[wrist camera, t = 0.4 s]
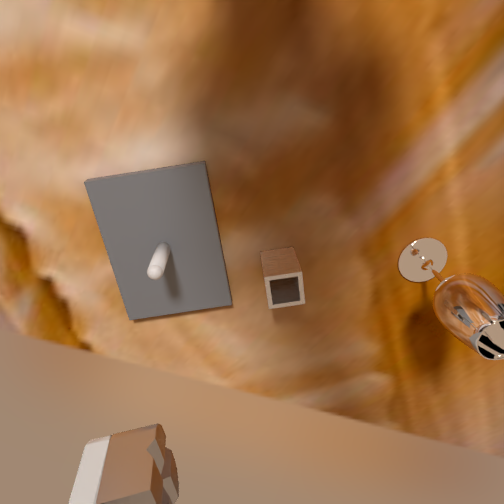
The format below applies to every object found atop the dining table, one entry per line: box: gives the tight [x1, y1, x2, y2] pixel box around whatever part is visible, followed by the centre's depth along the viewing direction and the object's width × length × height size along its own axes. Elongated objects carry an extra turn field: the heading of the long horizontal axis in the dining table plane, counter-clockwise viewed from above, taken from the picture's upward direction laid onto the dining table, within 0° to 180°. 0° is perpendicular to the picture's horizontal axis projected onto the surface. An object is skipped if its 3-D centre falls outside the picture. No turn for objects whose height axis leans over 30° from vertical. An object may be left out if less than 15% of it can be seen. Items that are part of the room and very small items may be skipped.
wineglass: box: [398, 238, 504, 360], centre depth 52 cm, size 8×8×20 cm
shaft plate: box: [84, 161, 232, 320], centre depth 54 cm, size 22×16×10 cm
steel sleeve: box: [260, 247, 305, 309], centre depth 57 cm, size 5×5×8 cm
